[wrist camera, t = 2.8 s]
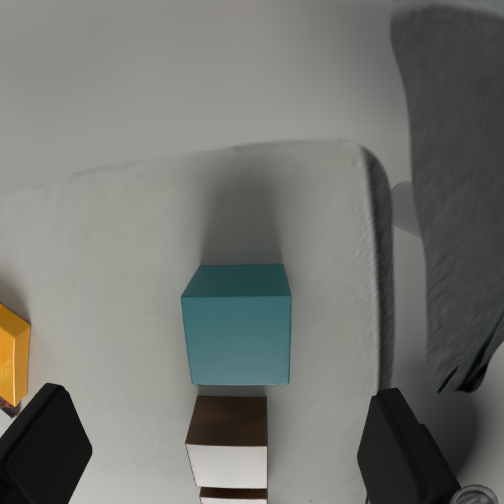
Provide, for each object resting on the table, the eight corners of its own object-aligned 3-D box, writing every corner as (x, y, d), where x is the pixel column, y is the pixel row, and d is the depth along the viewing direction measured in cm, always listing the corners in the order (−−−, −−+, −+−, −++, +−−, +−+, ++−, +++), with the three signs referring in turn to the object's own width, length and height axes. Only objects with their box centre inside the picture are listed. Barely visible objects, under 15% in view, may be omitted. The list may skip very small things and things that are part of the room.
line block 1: (266, 396, 20) (268, 445, 15) (266, 441, 21) (267, 488, 16) (197, 395, 20) (184, 443, 15) (204, 440, 21) (195, 486, 17)
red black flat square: (16, 420, 22) (14, 423, 21) (-20, 384, 21) (-22, 386, 21) (25, 400, 21) (23, 403, 21) (-14, 360, 20) (-17, 363, 20)
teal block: (283, 263, 18) (291, 294, 13) (283, 338, 19) (289, 384, 14) (198, 265, 18) (180, 296, 13) (205, 339, 19) (191, 384, 14)
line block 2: (267, 452, 21) (267, 498, 17) (266, 483, 22) (267, 525, 18) (206, 451, 21) (198, 496, 17) (213, 482, 22) (207, 523, 18)
